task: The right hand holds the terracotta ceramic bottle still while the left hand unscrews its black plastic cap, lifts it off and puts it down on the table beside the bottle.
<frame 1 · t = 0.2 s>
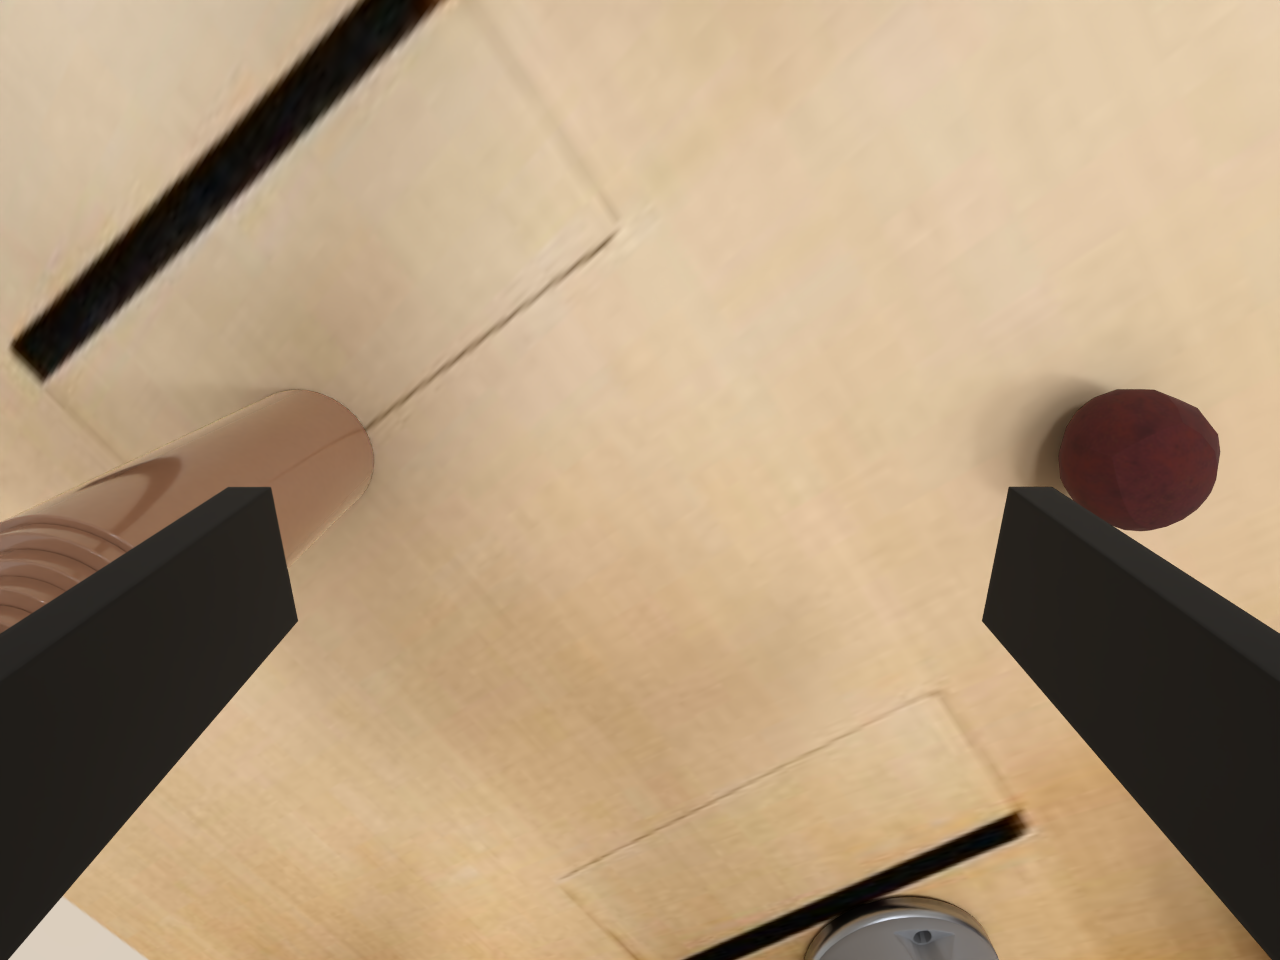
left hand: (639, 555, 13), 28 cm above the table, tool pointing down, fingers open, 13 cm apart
bottle: (308, 453, 41), on the table
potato: (1093, 437, 41), on the table
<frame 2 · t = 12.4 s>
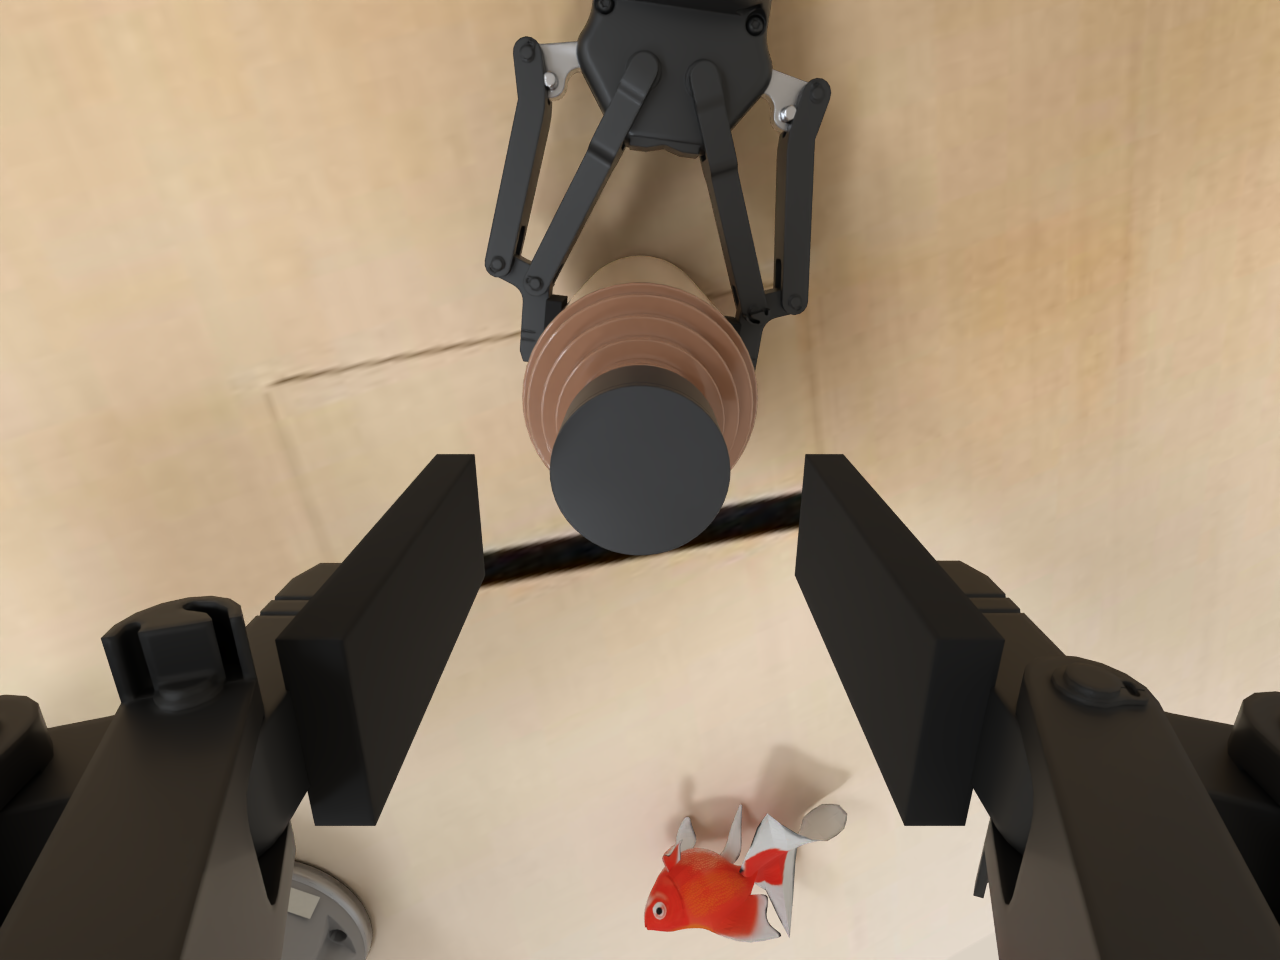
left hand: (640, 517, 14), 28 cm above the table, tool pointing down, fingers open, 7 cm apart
right hand: (628, 435, 36), fingers closed on bottle, 8 cm apart
cap: (640, 470, 17), point 25 cm above the table, screwed on, not yet turned
fish: (738, 817, 53), on the table
bottle: (640, 326, 40), on the table, touching right hand
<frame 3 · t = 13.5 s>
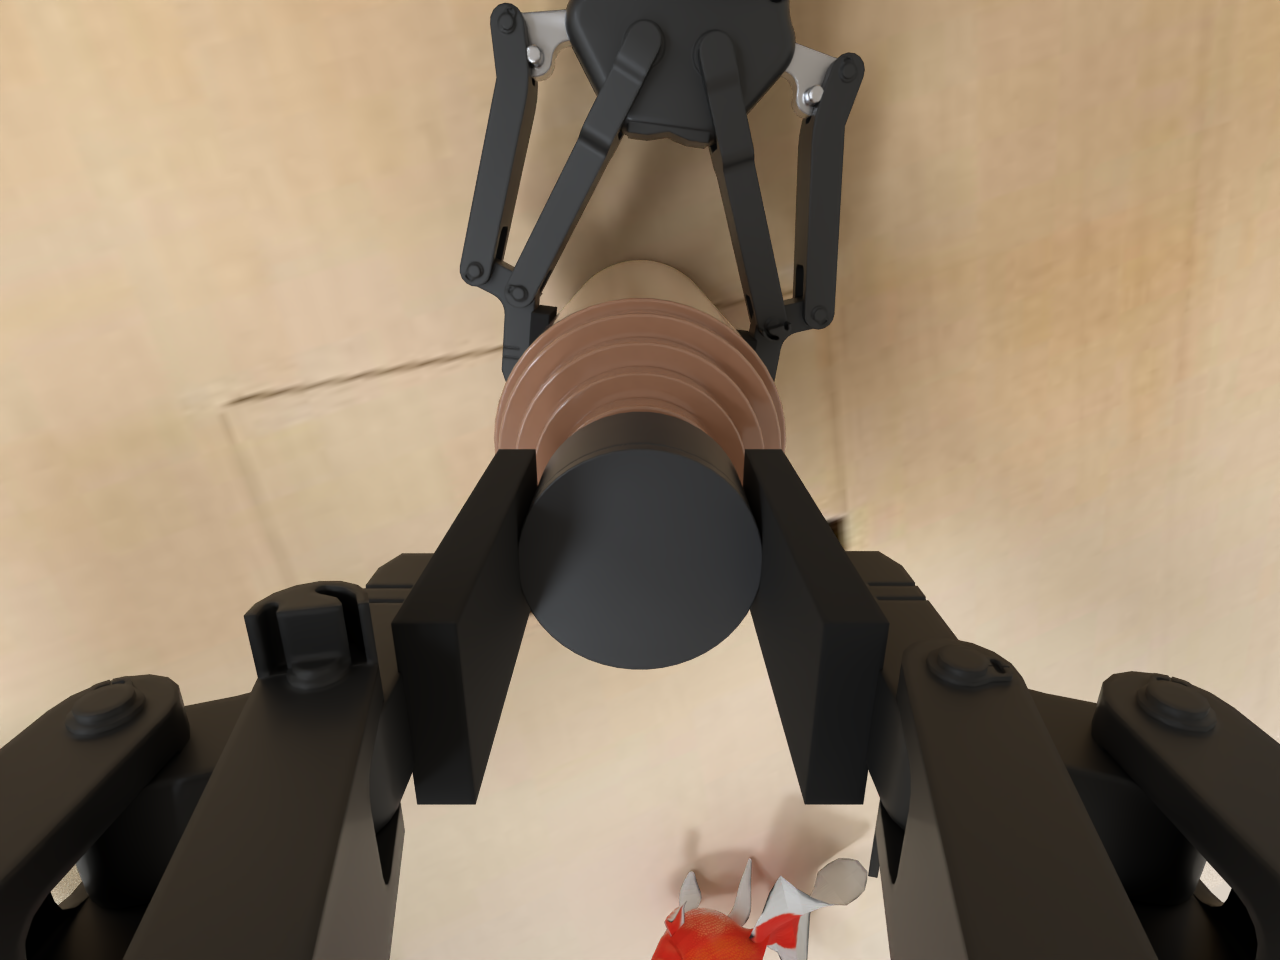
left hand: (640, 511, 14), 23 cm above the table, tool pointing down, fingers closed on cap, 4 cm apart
right hand: (627, 464, 32), fingers closed on bottle, 8 cm apart
cap: (640, 558, 12), point 25 cm above the table, screwed on, not yet turned, touching left hand
fish: (747, 871, 49), on the table
bottle: (639, 339, 36), on the table, touching right hand
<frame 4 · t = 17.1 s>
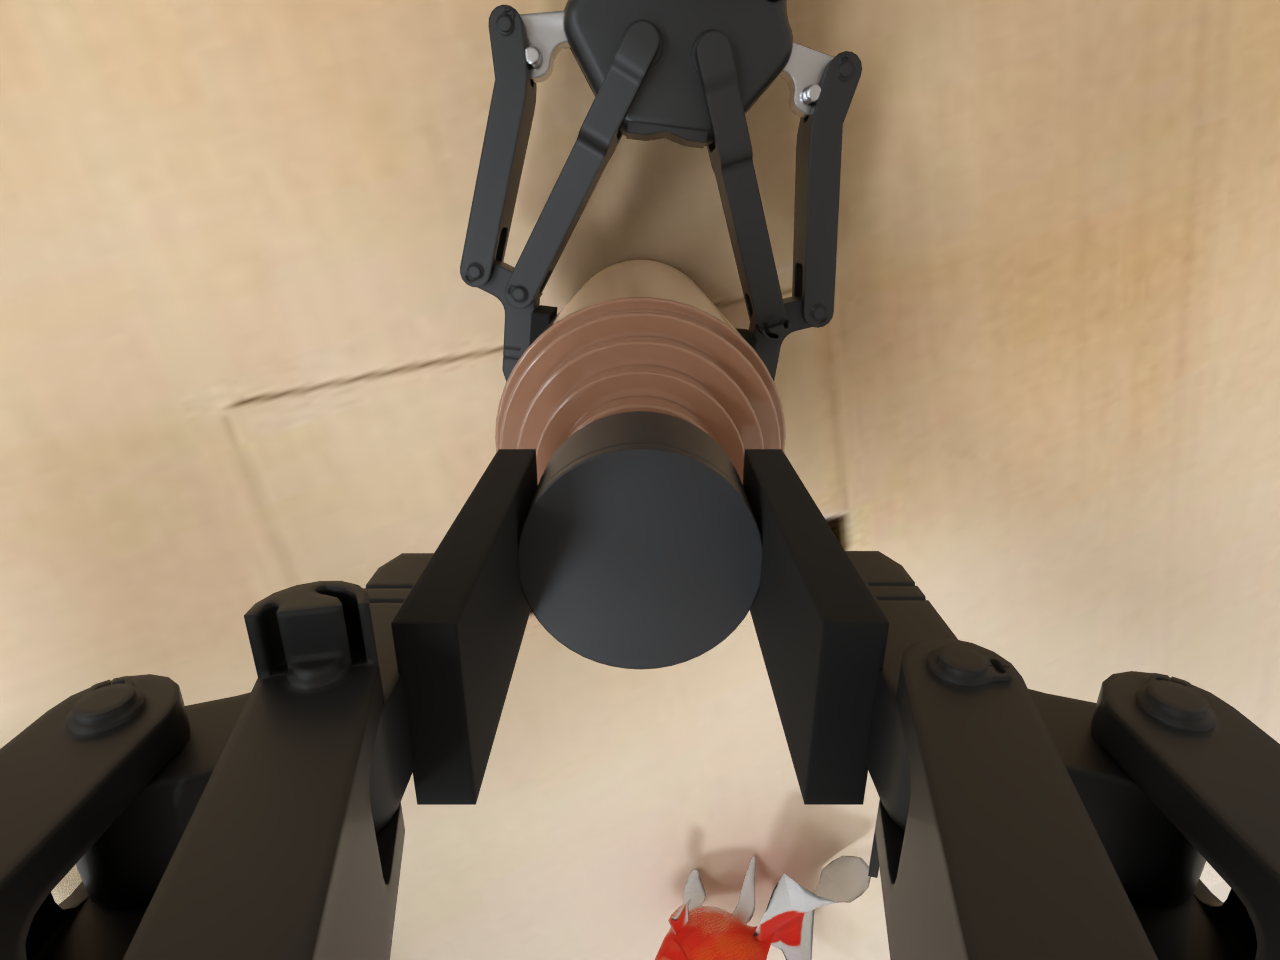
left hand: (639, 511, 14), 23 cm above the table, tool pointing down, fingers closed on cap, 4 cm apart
right hand: (628, 464, 32), fingers closed on bottle, 8 cm apart
cap: (640, 558, 12), point 25 cm above the table, turned 109° so far, risen 0.1 cm, still on its thread, touching left hand
fish: (751, 869, 49), on the table
bottle: (640, 338, 36), on the table, touching right hand
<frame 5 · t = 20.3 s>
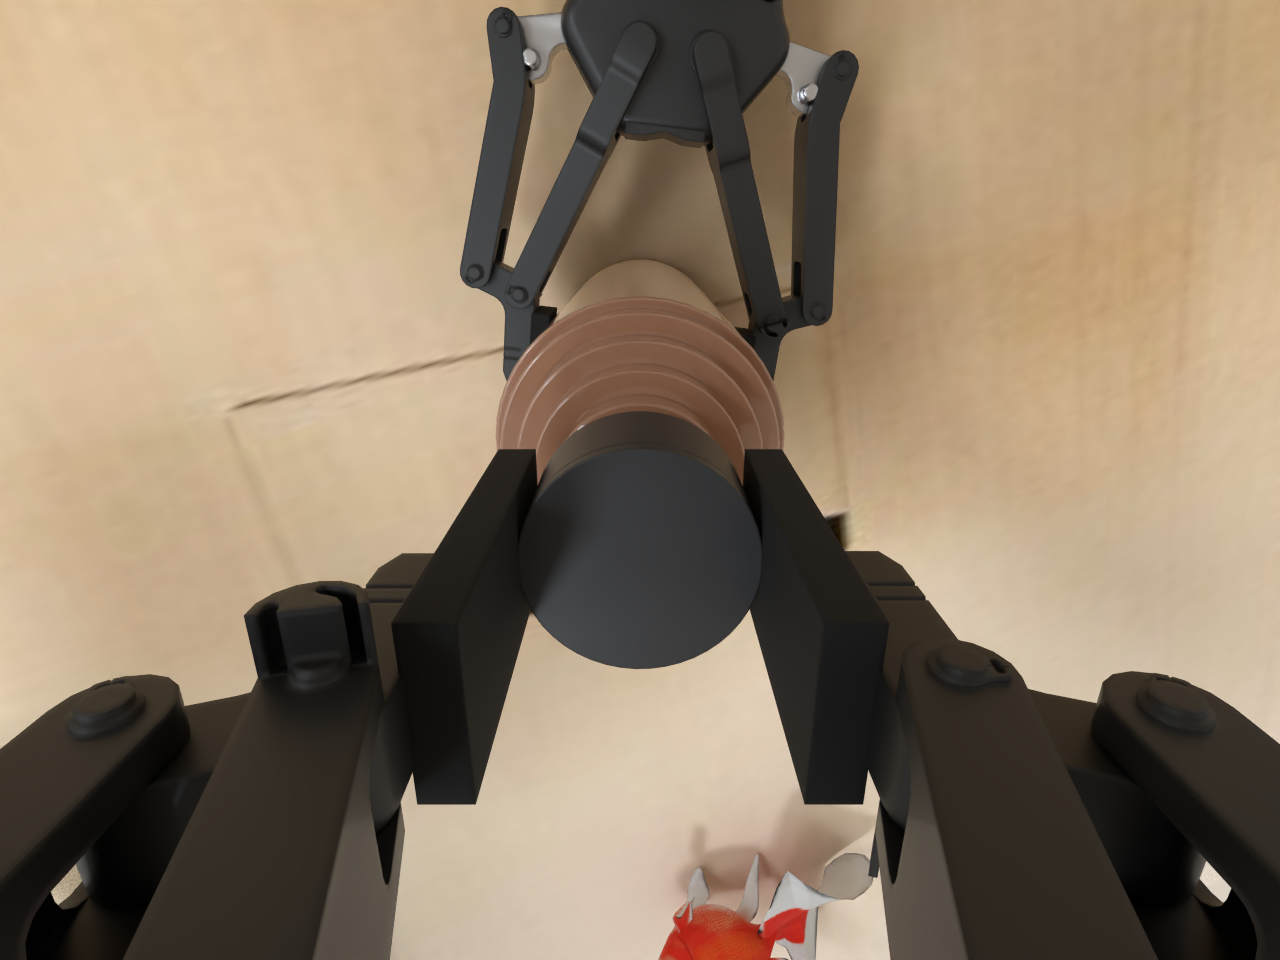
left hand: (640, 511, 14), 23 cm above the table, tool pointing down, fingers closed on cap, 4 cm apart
right hand: (628, 463, 32), fingers closed on bottle, 8 cm apart
cap: (640, 558, 12), point 25 cm above the table, turned 218° so far, risen 0.2 cm, still on its thread, touching left hand
fish: (754, 867, 49), on the table
bottle: (640, 338, 36), on the table, touching right hand
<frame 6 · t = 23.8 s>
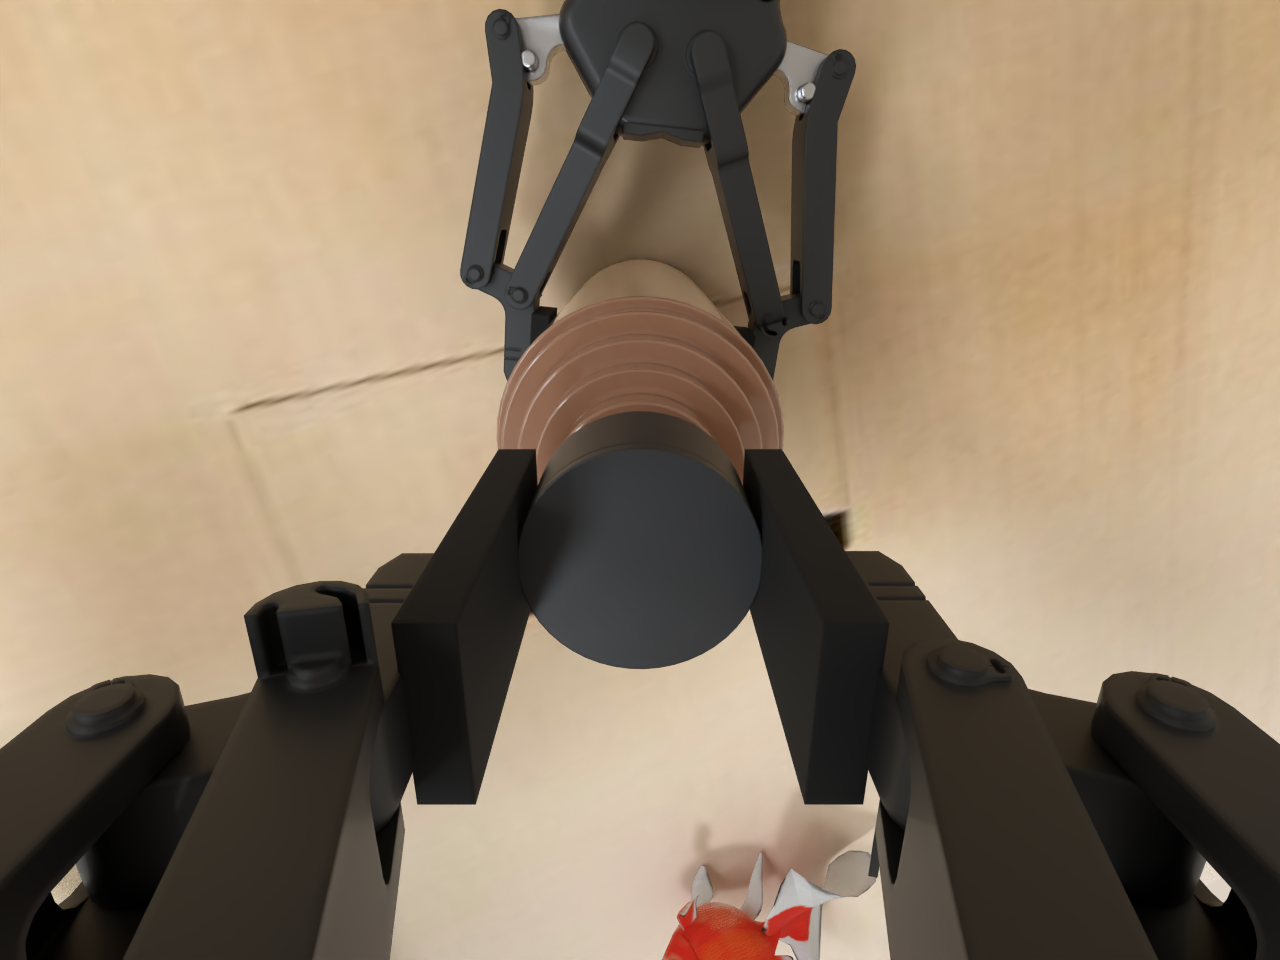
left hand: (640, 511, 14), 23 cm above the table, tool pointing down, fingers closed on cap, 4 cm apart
right hand: (629, 462, 32), fingers closed on bottle, 8 cm apart
cap: (640, 558, 12), point 25 cm above the table, turned 327° so far, risen 0.3 cm, still on its thread, touching left hand
fish: (758, 865, 49), on the table
bottle: (640, 337, 36), on the table, touching right hand
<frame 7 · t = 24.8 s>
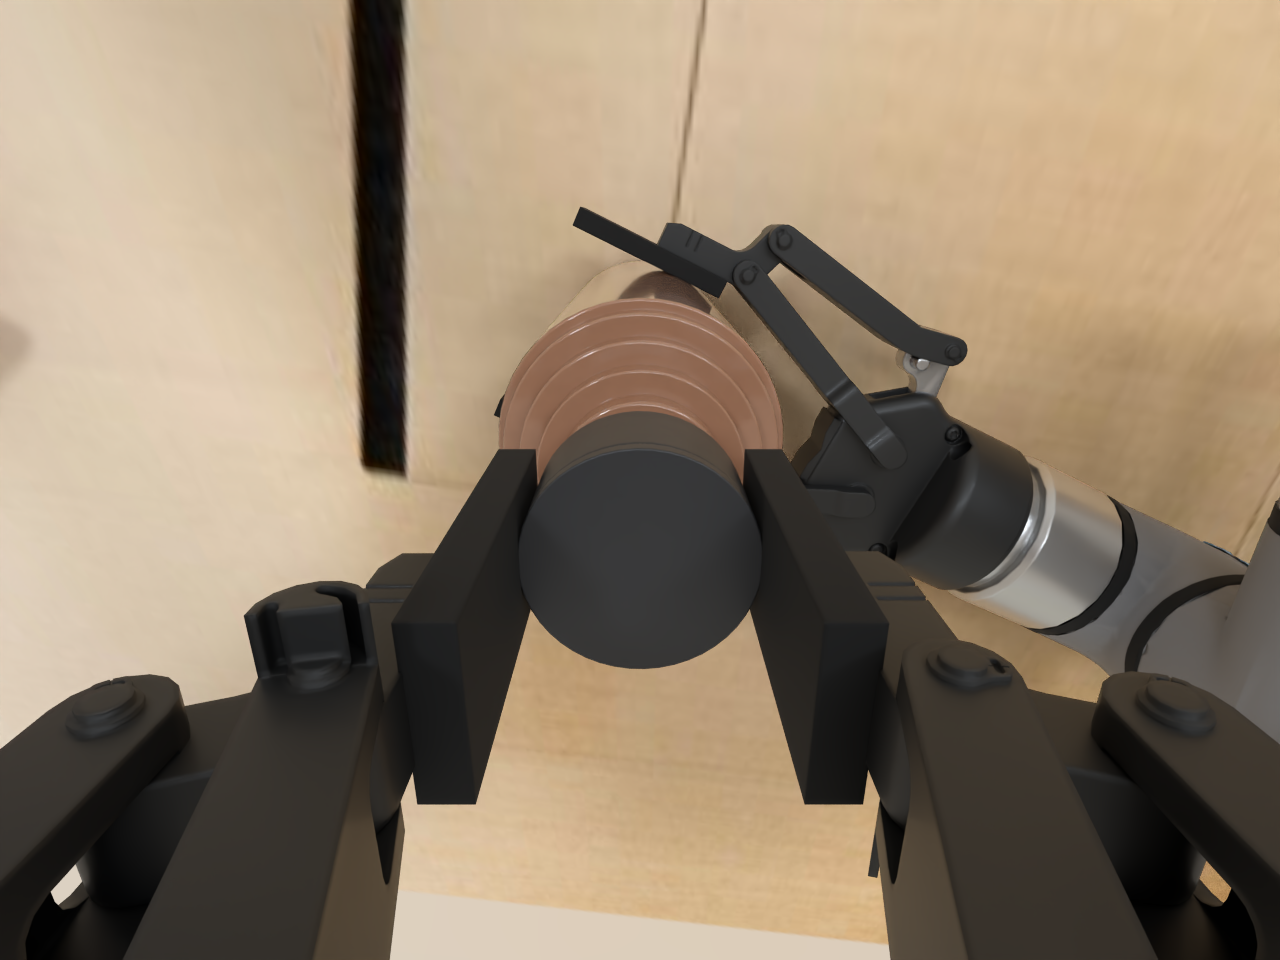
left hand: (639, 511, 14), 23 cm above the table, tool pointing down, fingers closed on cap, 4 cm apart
right hand: (539, 312, 30), fingers closed on bottle, 8 cm apart
cap: (640, 558, 12), point 25 cm above the table, off its thread, touching left hand
bottle: (640, 338, 36), on the table, touching right hand
when the left hand's fingers open (2 cm above the table, at t = 30.1 s): cap drops 2 cm, point 2 cm above the table.
when the right hand's fingers open (6 cm above the table, at t = 31.4 s): bottle stays where it is, on the table.
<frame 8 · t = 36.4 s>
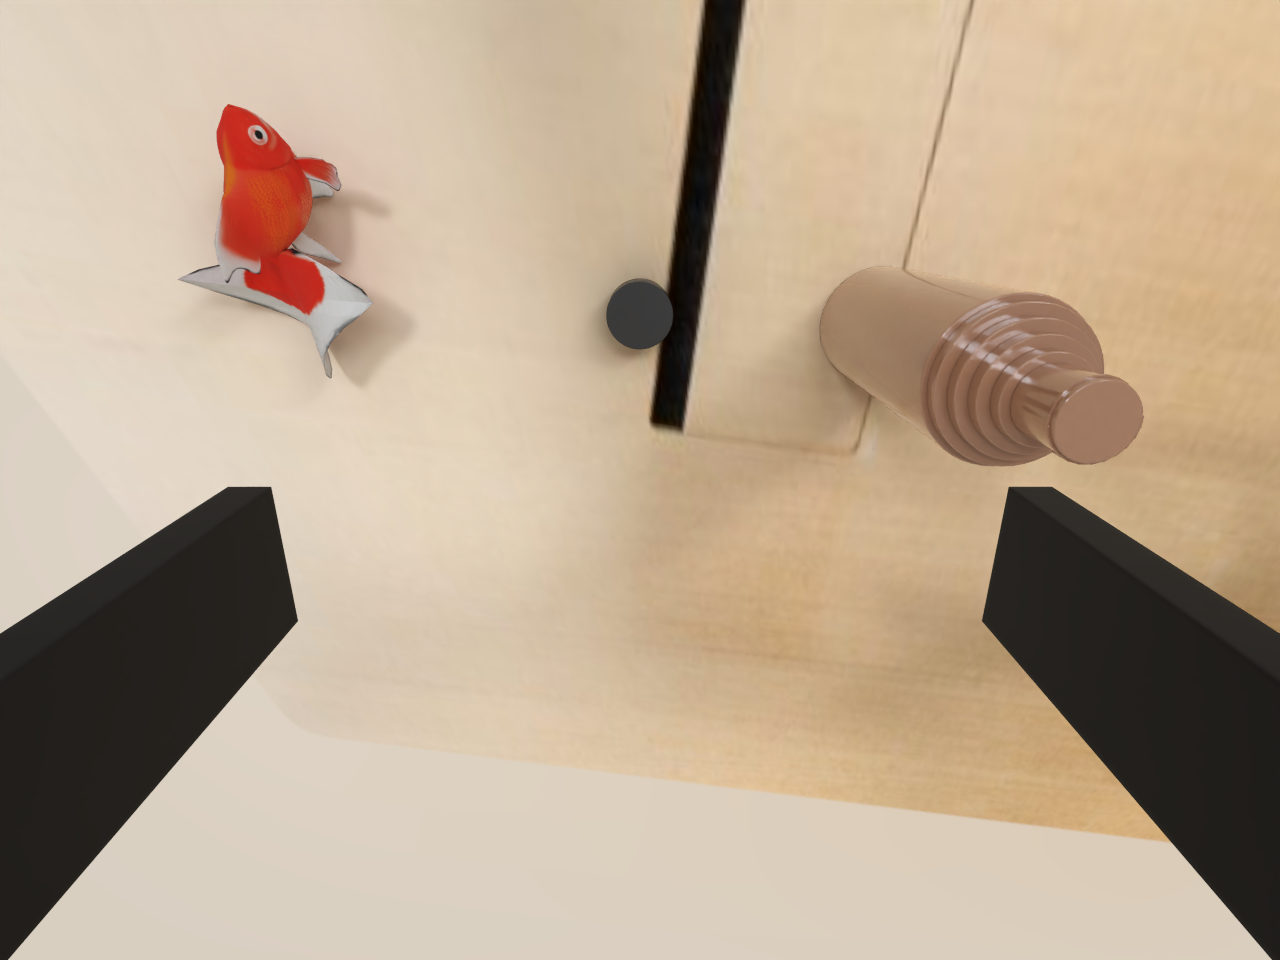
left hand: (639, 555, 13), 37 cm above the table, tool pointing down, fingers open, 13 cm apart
cap: (639, 315, 45), point 2 cm above the table, off its thread
fish: (319, 253, 46), on the table
bottle: (876, 325, 48), on the table
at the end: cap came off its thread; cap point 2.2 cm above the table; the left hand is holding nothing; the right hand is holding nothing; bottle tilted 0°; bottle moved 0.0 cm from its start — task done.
